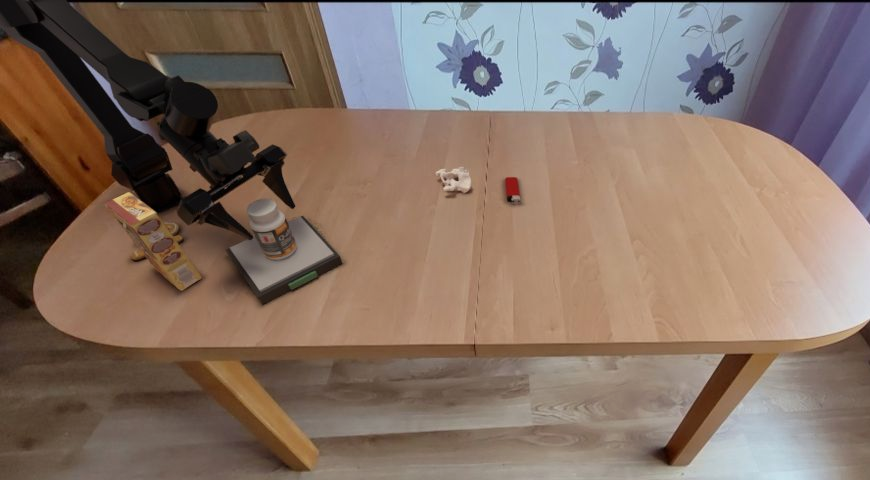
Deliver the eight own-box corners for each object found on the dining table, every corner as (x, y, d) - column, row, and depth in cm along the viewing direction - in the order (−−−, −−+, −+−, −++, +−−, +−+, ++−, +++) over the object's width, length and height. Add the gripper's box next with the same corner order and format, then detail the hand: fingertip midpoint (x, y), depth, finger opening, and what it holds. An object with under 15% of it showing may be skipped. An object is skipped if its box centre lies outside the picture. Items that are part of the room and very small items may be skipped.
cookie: (122, 258, 84) (146, 221, 91) (125, 261, 85) (148, 225, 92) (169, 256, 85) (189, 220, 92) (172, 259, 86) (192, 223, 92)
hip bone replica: (433, 164, 102) (462, 156, 103) (436, 180, 105) (464, 172, 106) (443, 184, 96) (473, 176, 98) (446, 200, 100) (475, 192, 101)
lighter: (517, 177, 103) (520, 199, 98) (517, 181, 104) (520, 204, 99) (505, 177, 103) (507, 199, 98) (504, 181, 104) (507, 204, 98)
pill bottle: (295, 259, 83) (277, 216, 75) (261, 263, 82) (239, 219, 75) (299, 237, 87) (281, 194, 79) (266, 241, 86) (246, 198, 78)
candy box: (203, 278, 83) (158, 211, 71) (180, 292, 80) (130, 225, 69) (176, 257, 86) (129, 190, 75) (153, 270, 84) (101, 203, 73)
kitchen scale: (263, 306, 79) (258, 296, 77) (229, 257, 86) (223, 247, 85) (343, 265, 86) (340, 255, 84) (305, 223, 93) (301, 213, 91)
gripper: (149, 154, 62) (239, 242, 67) (258, 97, 74) (329, 176, 78) (143, 185, 71) (224, 261, 75) (243, 130, 82) (308, 199, 86)
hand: (273, 222), depth 79 cm, fingers open, 9 cm apart
